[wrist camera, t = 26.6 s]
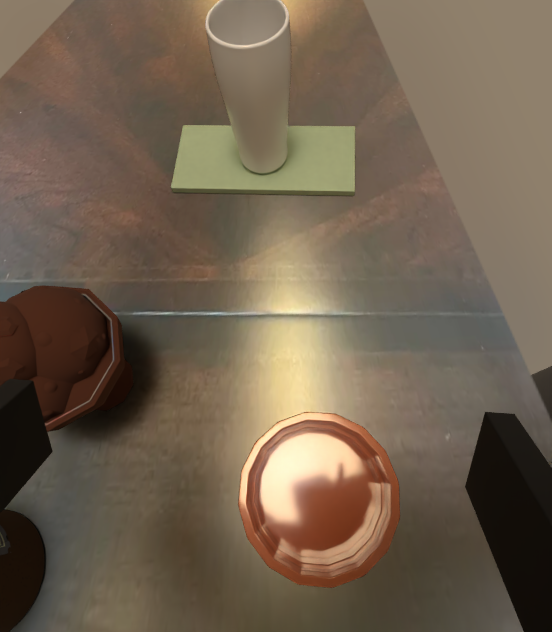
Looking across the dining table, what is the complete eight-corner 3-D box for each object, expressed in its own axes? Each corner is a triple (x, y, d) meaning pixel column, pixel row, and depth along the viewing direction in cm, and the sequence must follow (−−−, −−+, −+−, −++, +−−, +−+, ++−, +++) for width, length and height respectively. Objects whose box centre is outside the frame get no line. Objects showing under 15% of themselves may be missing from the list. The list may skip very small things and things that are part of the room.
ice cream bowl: (98, 468, 36) (-34, 465, 22) (25, 384, 39) (-131, 333, 25) (186, 378, 38) (118, 322, 24) (110, 305, 41) (12, 219, 27)
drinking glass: (251, 126, 48) (230, -19, 34) (304, 144, 46) (305, 1, 32) (223, 169, 46) (187, 34, 32) (277, 189, 44) (265, 57, 30)
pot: (383, 425, 36) (396, 417, 30) (386, 575, 32) (402, 595, 26) (254, 417, 36) (247, 408, 31) (242, 561, 32) (230, 578, 27)
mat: (354, 131, 47) (355, 126, 47) (353, 196, 44) (354, 191, 43) (185, 130, 49) (183, 125, 48) (172, 192, 46) (170, 187, 45)
